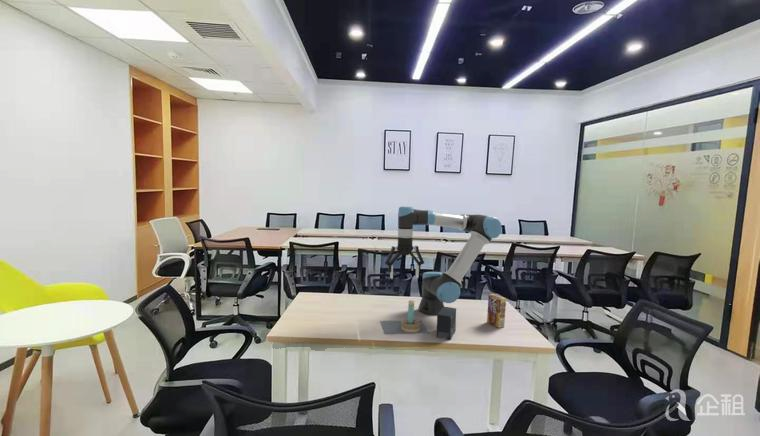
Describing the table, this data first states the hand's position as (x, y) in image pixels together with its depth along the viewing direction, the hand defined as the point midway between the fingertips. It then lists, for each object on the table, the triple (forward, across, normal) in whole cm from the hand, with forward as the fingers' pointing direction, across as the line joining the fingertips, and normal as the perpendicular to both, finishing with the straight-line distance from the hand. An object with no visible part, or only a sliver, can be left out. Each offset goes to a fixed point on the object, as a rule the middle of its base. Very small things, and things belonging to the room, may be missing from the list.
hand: (404, 277), depth 180 cm
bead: (+24, -1, +8) cm, 25 cm away
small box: (+25, -17, +17) cm, 34 cm away
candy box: (+25, -49, +7) cm, 55 cm away
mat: (+24, +1, +6) cm, 25 cm away
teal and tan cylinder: (+24, -1, +8) cm, 25 cm away
